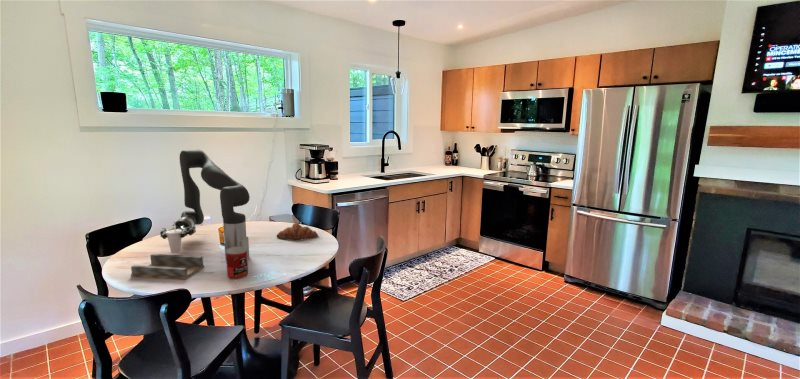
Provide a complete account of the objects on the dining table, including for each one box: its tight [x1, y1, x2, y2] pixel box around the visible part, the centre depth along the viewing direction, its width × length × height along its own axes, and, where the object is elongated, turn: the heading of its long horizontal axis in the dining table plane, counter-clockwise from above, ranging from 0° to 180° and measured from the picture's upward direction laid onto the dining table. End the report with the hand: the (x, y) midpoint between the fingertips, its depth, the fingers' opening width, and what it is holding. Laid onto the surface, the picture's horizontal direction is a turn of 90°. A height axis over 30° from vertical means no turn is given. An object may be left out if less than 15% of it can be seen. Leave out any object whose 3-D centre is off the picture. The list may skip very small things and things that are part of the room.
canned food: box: [225, 246, 249, 280], centre depth 151 cm, size 8×8×11 cm
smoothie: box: [166, 221, 182, 254], centre depth 166 cm, size 6×6×14 cm
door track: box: [130, 253, 205, 281], centre depth 153 cm, size 22×13×5 cm, turn 86°
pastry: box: [276, 222, 319, 241], centre depth 203 cm, size 17×15×8 cm
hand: (172, 236), depth 163 cm, fingers closed on smoothie, 6 cm apart
